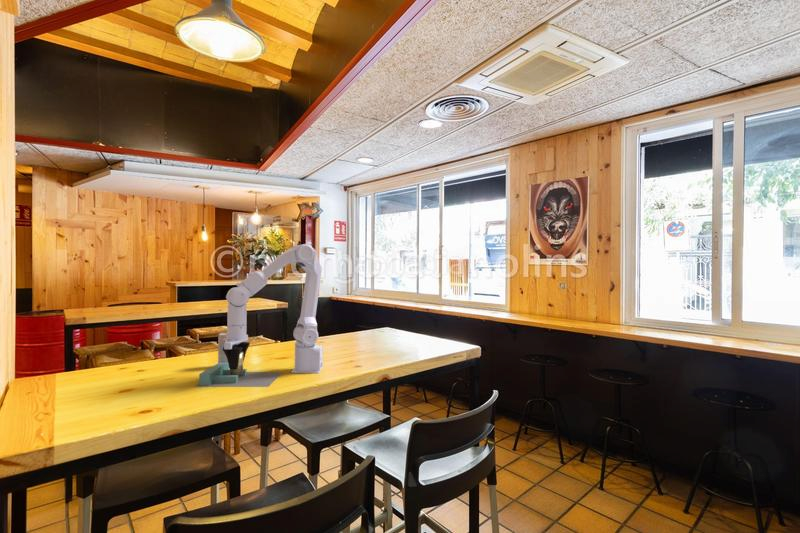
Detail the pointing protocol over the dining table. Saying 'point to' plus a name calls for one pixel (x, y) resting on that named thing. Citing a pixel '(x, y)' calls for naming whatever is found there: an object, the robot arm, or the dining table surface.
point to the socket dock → (218, 375)
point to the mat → (250, 380)
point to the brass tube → (240, 366)
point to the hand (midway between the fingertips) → (236, 367)
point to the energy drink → (221, 348)
